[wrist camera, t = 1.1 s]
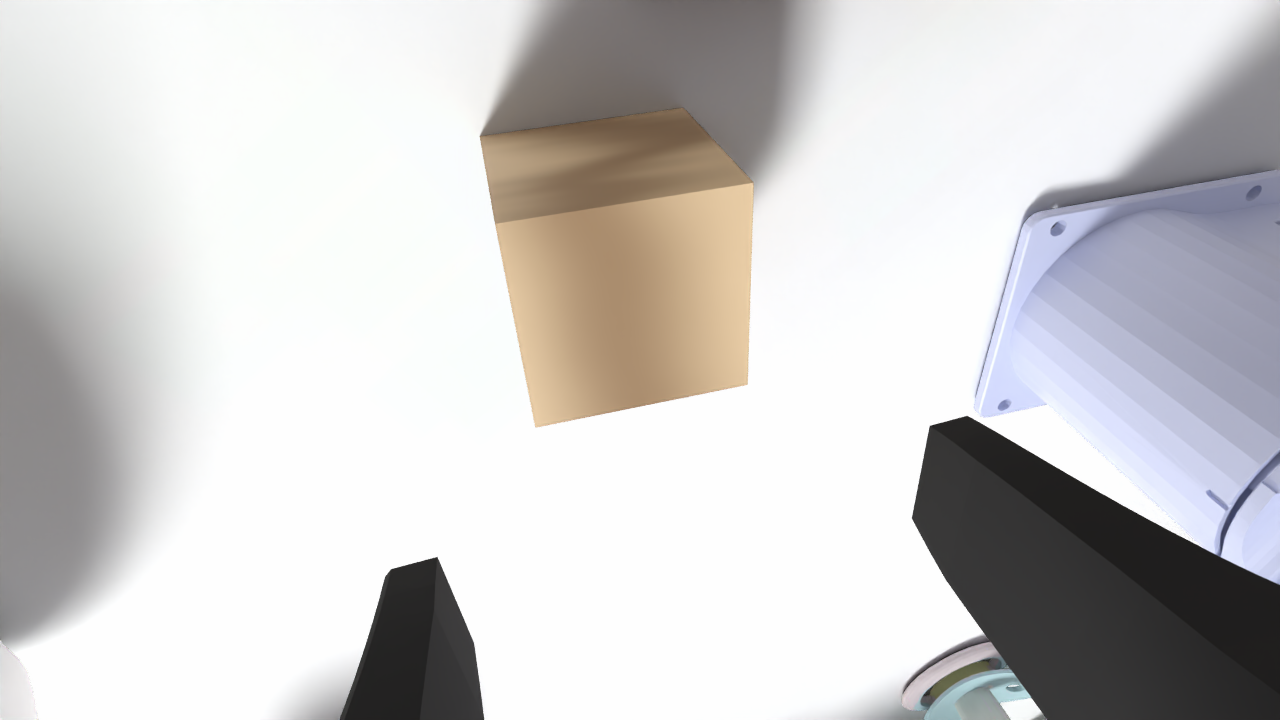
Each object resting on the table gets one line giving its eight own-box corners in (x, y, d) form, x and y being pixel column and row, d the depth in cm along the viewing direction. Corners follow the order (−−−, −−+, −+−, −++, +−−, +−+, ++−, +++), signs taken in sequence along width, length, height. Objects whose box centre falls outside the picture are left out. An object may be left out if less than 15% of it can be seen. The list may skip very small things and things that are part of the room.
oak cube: (682, 106, 18) (753, 182, 14) (687, 281, 21) (747, 384, 17) (479, 134, 17) (495, 224, 13) (514, 312, 20) (535, 427, 16)
